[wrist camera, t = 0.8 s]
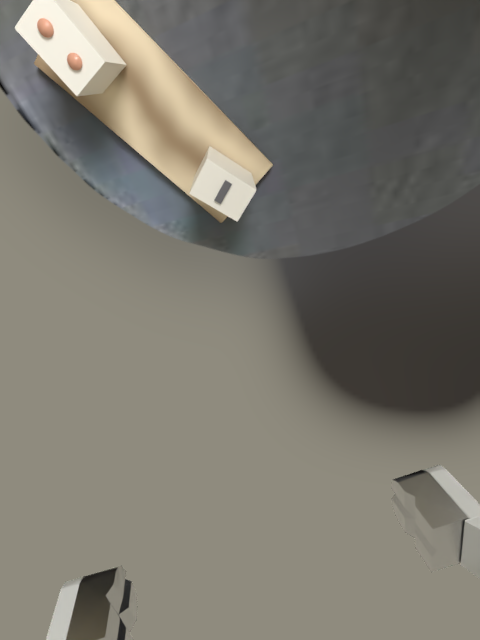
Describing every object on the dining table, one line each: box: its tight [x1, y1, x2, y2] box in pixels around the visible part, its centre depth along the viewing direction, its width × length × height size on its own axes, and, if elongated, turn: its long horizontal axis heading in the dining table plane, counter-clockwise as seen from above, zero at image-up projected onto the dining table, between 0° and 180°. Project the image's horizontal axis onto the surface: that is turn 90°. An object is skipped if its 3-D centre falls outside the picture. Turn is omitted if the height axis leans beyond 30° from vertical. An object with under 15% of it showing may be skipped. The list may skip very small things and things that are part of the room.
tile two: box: [15, 0, 126, 96], centre depth 31 cm, size 4×6×8 cm
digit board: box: [34, 0, 273, 223], centre depth 39 cm, size 10×26×1 cm, turn 48°
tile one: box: [189, 146, 256, 222], centre depth 39 cm, size 4×6×8 cm
